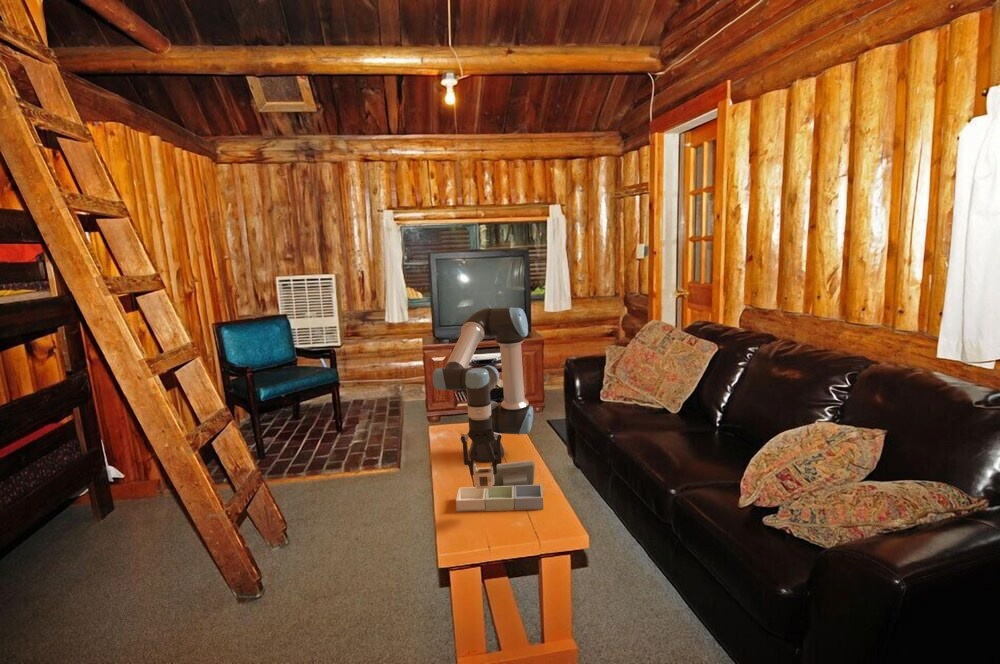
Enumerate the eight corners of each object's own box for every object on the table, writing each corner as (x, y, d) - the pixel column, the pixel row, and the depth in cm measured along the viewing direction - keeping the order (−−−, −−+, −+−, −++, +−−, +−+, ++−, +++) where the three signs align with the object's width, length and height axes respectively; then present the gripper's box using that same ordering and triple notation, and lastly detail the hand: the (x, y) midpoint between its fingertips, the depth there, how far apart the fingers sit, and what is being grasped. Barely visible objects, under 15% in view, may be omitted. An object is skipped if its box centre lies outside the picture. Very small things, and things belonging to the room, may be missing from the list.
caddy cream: (459, 498, 191) (459, 487, 190) (486, 497, 191) (486, 486, 190) (456, 512, 182) (455, 500, 181) (485, 511, 181) (484, 499, 180)
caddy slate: (515, 496, 190) (514, 485, 190) (542, 495, 190) (541, 484, 189) (514, 510, 181) (514, 498, 180) (543, 509, 180) (542, 497, 180)
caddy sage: (487, 497, 191) (486, 486, 190) (514, 496, 190) (513, 485, 190) (485, 511, 181) (484, 499, 180) (514, 510, 181) (513, 498, 180)
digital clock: (535, 482, 200) (534, 456, 199) (536, 493, 192) (534, 466, 190) (493, 484, 201) (491, 457, 200) (491, 495, 192) (489, 467, 191)
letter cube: (477, 481, 178) (476, 467, 177) (492, 481, 177) (491, 467, 177) (476, 488, 173) (475, 474, 172) (491, 488, 173) (490, 473, 172)
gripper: (450, 421, 168) (456, 489, 172) (507, 419, 167) (511, 487, 171) (453, 413, 175) (458, 479, 179) (507, 411, 174) (511, 477, 179)
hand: (484, 483), depth 175 cm, fingers closed on letter cube, 5 cm apart
